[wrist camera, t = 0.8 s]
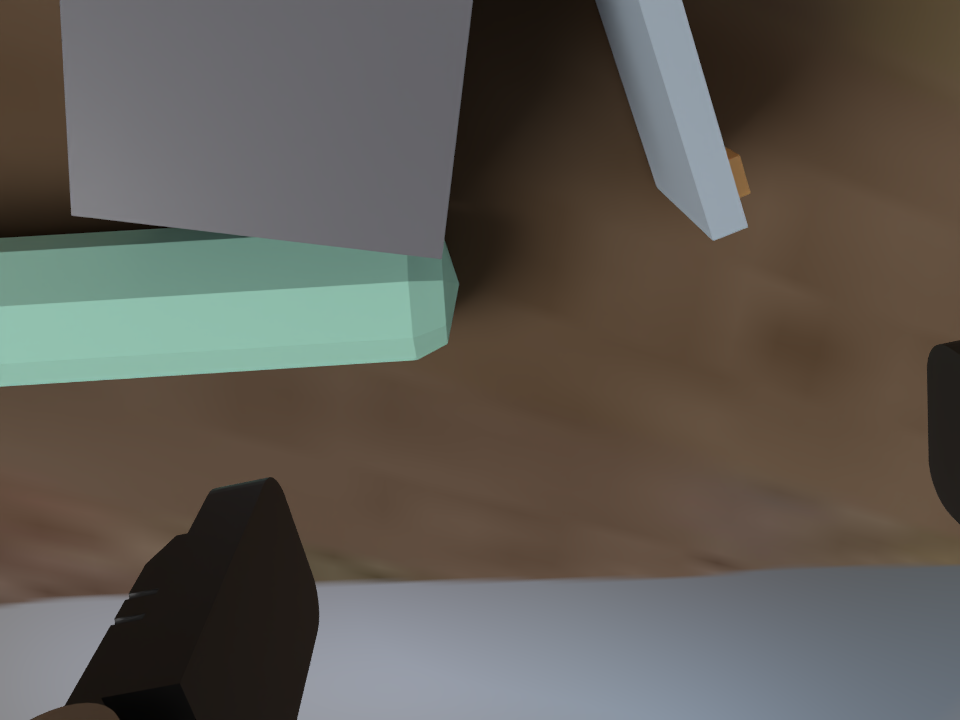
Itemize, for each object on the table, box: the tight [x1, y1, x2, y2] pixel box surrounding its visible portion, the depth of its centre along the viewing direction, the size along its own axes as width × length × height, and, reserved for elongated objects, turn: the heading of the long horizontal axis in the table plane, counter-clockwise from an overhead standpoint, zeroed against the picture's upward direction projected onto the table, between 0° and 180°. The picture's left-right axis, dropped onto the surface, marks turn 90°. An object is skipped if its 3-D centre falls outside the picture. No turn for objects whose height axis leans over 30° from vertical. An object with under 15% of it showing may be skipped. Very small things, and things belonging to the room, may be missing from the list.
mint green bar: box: [0, 228, 459, 387], centre depth 29 cm, size 6×6×25 cm
